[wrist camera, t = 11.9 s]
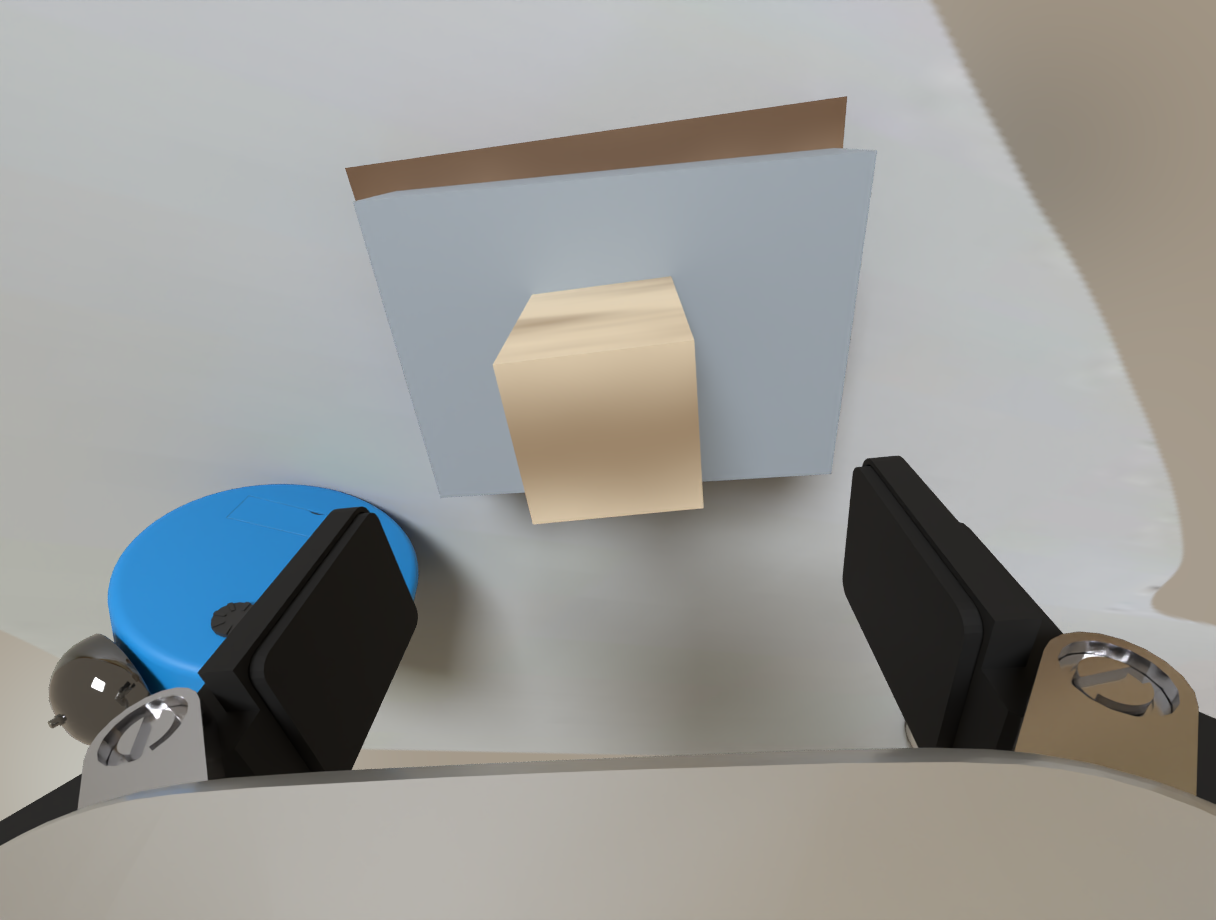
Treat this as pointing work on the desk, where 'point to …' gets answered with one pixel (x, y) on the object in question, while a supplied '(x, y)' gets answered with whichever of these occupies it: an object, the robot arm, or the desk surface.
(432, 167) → the walnut slab
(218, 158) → the desk surface
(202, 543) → the alarm clock
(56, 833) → the robot arm
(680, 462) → the beech block
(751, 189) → the slate slab
